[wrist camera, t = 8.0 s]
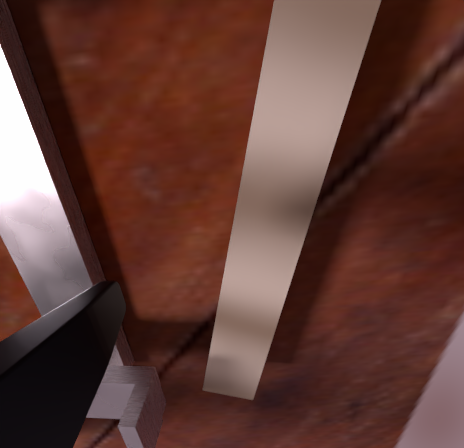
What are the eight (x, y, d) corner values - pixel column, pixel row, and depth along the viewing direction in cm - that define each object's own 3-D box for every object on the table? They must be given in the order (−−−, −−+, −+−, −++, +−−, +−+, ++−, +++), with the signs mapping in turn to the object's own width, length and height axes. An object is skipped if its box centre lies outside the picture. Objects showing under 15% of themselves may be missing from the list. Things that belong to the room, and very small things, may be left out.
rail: (254, 356, 20) (253, 400, 18) (210, 348, 20) (202, 390, 18) (410, -178, 9) (469, -276, 6) (310, -195, 9) (329, -300, 6)
